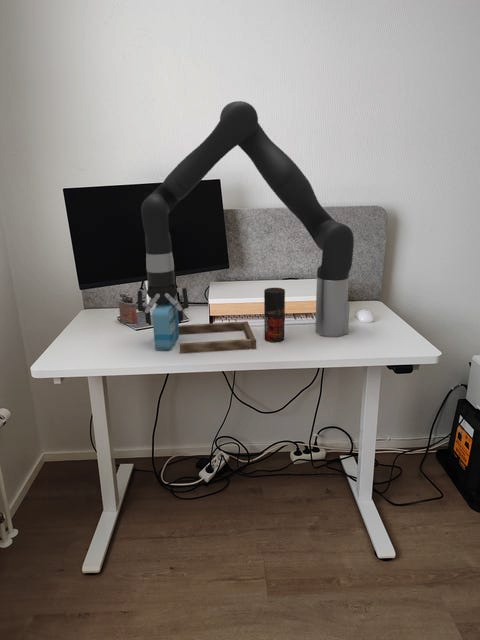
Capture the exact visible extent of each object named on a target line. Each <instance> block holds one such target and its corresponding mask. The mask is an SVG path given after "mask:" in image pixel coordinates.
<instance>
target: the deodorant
mask: <svg viewBox="0 0 480 640" xmlns="http://www.w3.org/2000/svg"><path fill="white" fill-rule="evenodd" d="M263 292H264V293H263V294H264V295H263V296H264V297H263V300H264V302H263V303H264V305H263V307H264V308H263V309H264V310H263V311H264V313H263V314H264V316H263V319H264V322H263V323H264V324H263V325H264V329H263V330H264V332H263V333H264V335H263V336H264V337H263V338H264V339H263V340H264V341H265V342H267V343H271V344H277V343H278V344H279V343H282V342H284V341H285V334H286V333H285V330H286V329H285V328H286V327H285V320H286V319H285V318H286V316H285V315H286V313H285V312H286V311H285V309H286V308H285V307H286V301H285V299H286V291H285V288H283V287H268V288H265V289H264V291H263Z"/></svg>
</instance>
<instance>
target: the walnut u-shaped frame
mask: <svg viewBox="0 0 480 640" xmlns="http://www.w3.org/2000/svg"><path fill="white" fill-rule="evenodd" d="M229 332H243V334H244V335H245V337H246V338H245V339H244V338H243V339H242V338H241V339H228V340H225V339H224V340H213V341H197V342H196V341H195V342H194V341H193V342H180V343H178V346H179V354H181V355H182V354H195V353H199V354H200V353H210V352H211V353H212V352H227V351H243V350H256V349H257V339H256V337H255V334H254V332H253V330H252V328H251V326H250V324H249V322H248V321H247V320H246V321H231V322H230V321H229V322H215V323H214V322H213V323H197V324H194V323H193V324H183V325H181V324H179V336H180V335H181V336H182V335H197V334H212V333H213V334H214V333H229Z"/></svg>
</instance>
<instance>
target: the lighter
mask: <svg viewBox="0 0 480 640" xmlns="http://www.w3.org/2000/svg"><path fill="white" fill-rule="evenodd" d="M119 297H120V298H119V299H118V300H117V303H118V308H119V311H118V312H119V323H121V324H122V325H125V326H127V325H126V324H137V323H138V324H139V322H138V315H137V314H138V313H137V302H136V301H134V299H133V298H134V297H133V295H131V293H124V292H120V293H119Z"/></svg>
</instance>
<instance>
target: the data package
mask: <svg viewBox="0 0 480 640" xmlns="http://www.w3.org/2000/svg"><path fill="white" fill-rule="evenodd" d="M179 325H180V323H179V321H178V309H177V308H176V307H175V306H174V305H173V304H172V303H171V302H170V303H169V304H156V306H155V307H154V308H153V310H152V326H153V337H154V348H155V350H156V351H160V350H161V351H165V350H166V351H167V350H169V351H172V349H173V348H174V346H175V344H176V343H177V341H178V340H179V337H180V335H179Z"/></svg>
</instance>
